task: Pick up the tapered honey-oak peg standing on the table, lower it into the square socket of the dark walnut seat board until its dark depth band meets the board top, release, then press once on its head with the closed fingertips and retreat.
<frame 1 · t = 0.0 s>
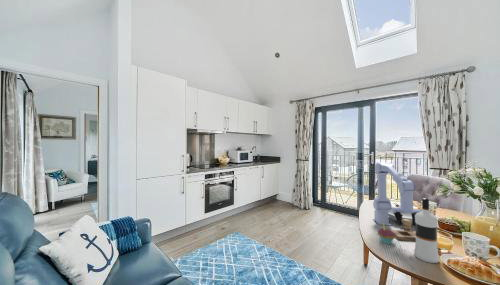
hand: (407, 225, 112), 10 cm above the table, fingers open, 7 cm apart
seat board: (410, 237, 118), on the table
vodka: (426, 258, 97), on the table
cupcake: (386, 242, 113), on the table
soup bowl: (403, 221, 142), on the table
peg: (407, 231, 126), on the table
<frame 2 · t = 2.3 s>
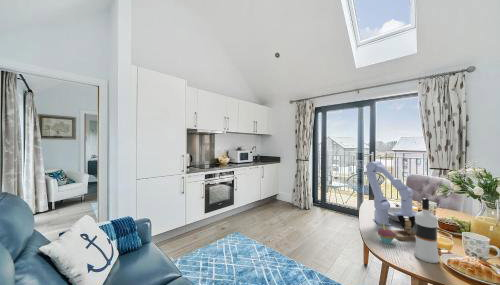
hand: (407, 227, 126), 2 cm above the table, fingers closed on peg, 4 cm apart
peg: (407, 231, 126), on the table, touching gripper
everything else where it was.
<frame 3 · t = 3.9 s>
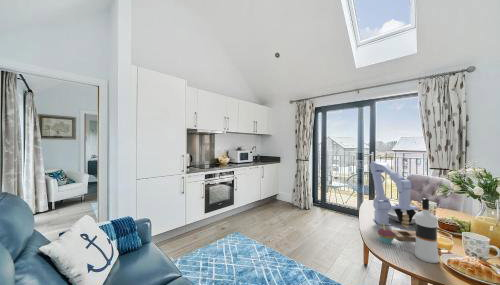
hand: (404, 221, 119), 9 cm above the table, fingers closed on peg, 4 cm apart
peg: (405, 226, 119), point 7 cm above the table, touching gripper
everything else where it was.
when the fingers open (3 cm above the table, at t = 5.8 s): peg stays where it is, resting in seat board.
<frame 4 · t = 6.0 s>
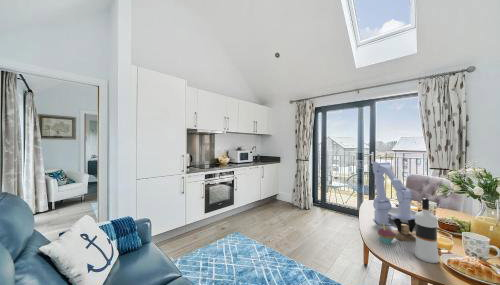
hand: (404, 231, 119), 3 cm above the table, fingers open, 6 cm apart
peg: (405, 236, 119), resting in seat board
everything else where it was.
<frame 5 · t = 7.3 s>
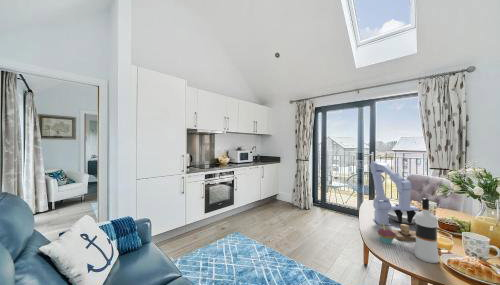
hand: (404, 222, 119), 9 cm above the table, fingers open, 4 cm apart
nothing on the table moved.
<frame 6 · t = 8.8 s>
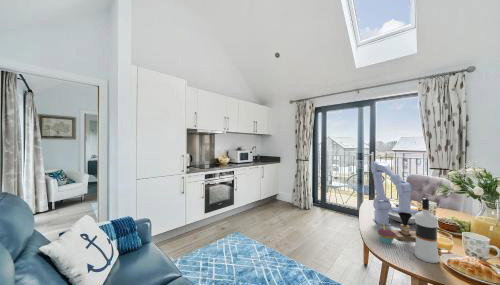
hand: (404, 224, 119), 7 cm above the table, fingers closed
nothing on the table moved.
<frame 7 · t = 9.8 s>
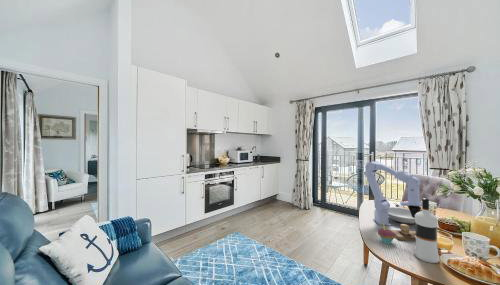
hand: (414, 217, 123), 10 cm above the table, fingers closed
nothing on the table moved.
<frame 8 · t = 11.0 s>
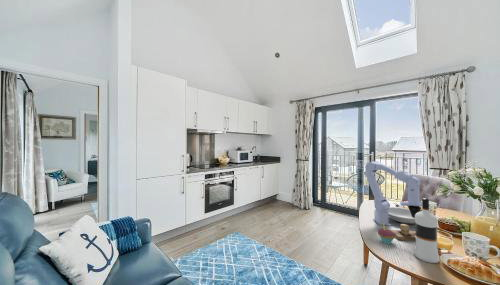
hand: (414, 217, 123), 10 cm above the table, fingers closed
nothing on the table moved.
at the end: peg 0.1 cm from the target spot on the seat board, point 0.0 cm above the seat board's base; peg tilted 0°; the gripper is holding nothing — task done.
